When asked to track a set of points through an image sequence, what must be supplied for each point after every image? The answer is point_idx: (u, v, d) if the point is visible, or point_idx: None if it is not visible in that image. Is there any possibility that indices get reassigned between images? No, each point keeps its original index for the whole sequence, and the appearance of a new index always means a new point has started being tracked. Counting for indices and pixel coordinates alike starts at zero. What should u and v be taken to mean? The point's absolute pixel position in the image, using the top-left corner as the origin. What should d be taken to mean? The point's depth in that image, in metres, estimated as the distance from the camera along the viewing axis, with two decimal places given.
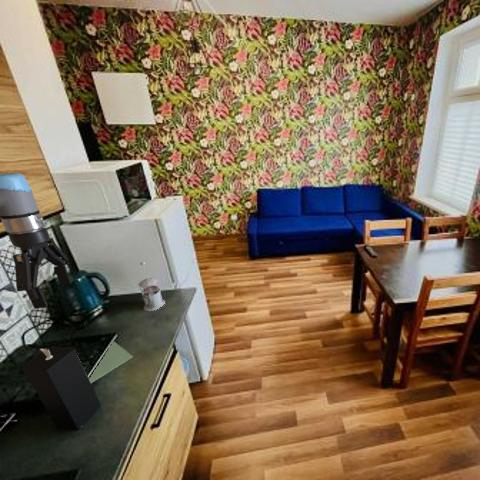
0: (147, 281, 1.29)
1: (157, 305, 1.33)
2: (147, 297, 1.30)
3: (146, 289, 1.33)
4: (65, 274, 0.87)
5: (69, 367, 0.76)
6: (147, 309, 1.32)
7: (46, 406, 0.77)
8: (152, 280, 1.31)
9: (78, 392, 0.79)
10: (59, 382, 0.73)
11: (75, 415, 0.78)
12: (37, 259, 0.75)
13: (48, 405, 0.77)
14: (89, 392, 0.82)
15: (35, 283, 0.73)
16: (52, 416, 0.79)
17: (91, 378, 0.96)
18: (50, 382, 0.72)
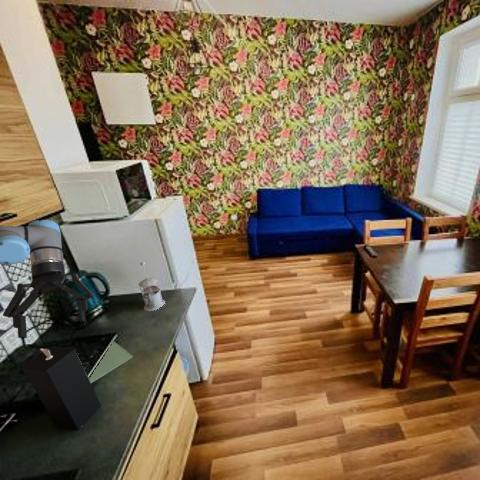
0: (147, 281, 1.29)
1: (157, 305, 1.33)
2: (147, 297, 1.30)
3: (146, 289, 1.33)
4: (25, 325, 0.79)
5: (69, 367, 0.76)
6: (147, 309, 1.32)
7: (46, 406, 0.77)
8: (152, 280, 1.31)
9: (78, 392, 0.79)
10: (59, 382, 0.73)
11: (75, 415, 0.78)
12: None
13: (48, 405, 0.77)
14: (89, 392, 0.82)
15: None
16: (52, 416, 0.79)
17: (91, 378, 0.96)
18: (50, 382, 0.72)
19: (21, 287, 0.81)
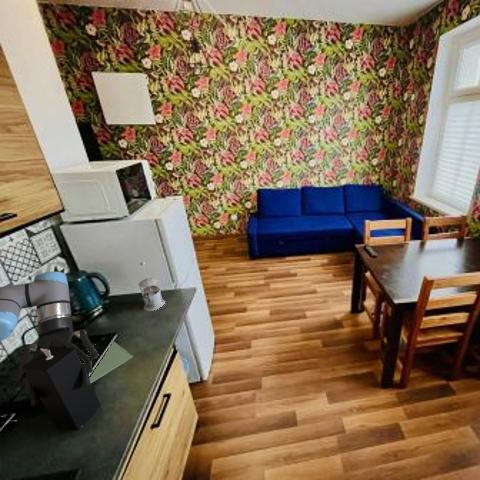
0: (147, 281, 1.29)
1: (157, 305, 1.33)
2: (147, 297, 1.30)
3: (146, 289, 1.33)
4: None
5: (69, 367, 0.76)
6: (147, 309, 1.32)
7: (46, 406, 0.77)
8: (152, 280, 1.31)
9: (78, 392, 0.79)
10: (59, 382, 0.73)
11: (75, 415, 0.78)
12: (72, 343, 0.83)
13: (48, 405, 0.77)
14: (89, 392, 0.82)
15: None
16: (52, 416, 0.79)
17: (91, 378, 0.96)
18: (50, 382, 0.72)
19: (28, 349, 0.77)
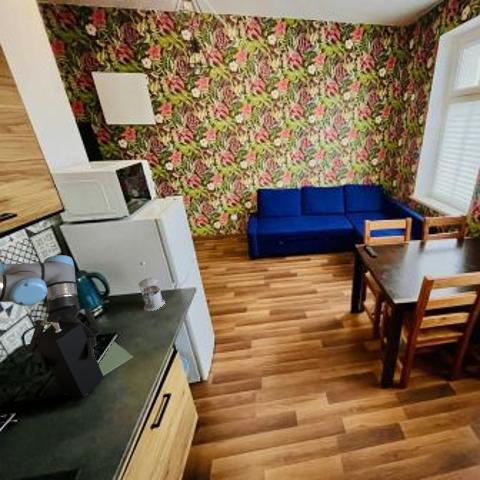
0: (147, 281, 1.29)
1: (157, 305, 1.33)
2: (147, 297, 1.30)
3: (146, 289, 1.33)
4: None
5: (76, 340, 0.84)
6: (147, 309, 1.32)
7: (55, 375, 0.85)
8: (152, 280, 1.30)
9: (84, 363, 0.88)
10: (67, 352, 0.82)
11: (81, 383, 0.87)
12: None
13: (57, 373, 0.85)
14: (93, 364, 0.91)
15: None
16: (60, 384, 0.87)
17: None
18: (59, 352, 0.81)
19: (39, 323, 0.85)
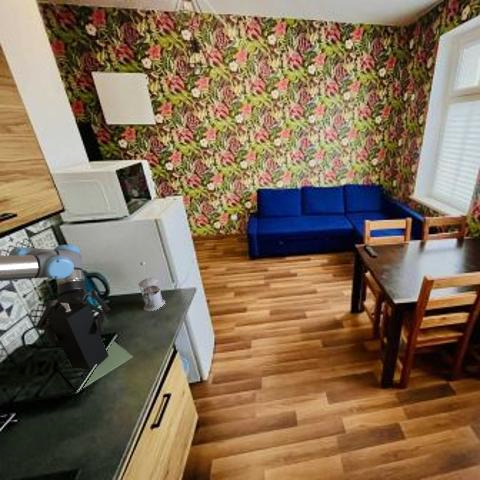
0: (147, 281, 1.29)
1: (157, 305, 1.33)
2: (147, 297, 1.30)
3: (146, 289, 1.33)
4: (54, 335, 0.94)
5: (84, 319, 0.95)
6: (147, 309, 1.32)
7: (65, 351, 0.96)
8: (152, 280, 1.30)
9: (91, 341, 0.98)
10: (76, 330, 0.92)
11: (88, 359, 0.97)
12: None
13: (67, 350, 0.95)
14: (99, 342, 1.01)
15: None
16: (70, 360, 0.97)
17: (91, 378, 0.96)
18: (69, 329, 0.91)
19: (50, 303, 0.95)
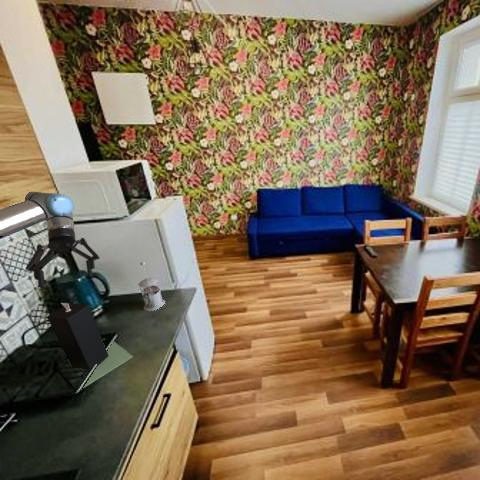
0: (147, 281, 1.29)
1: (157, 305, 1.33)
2: (147, 297, 1.30)
3: (146, 289, 1.33)
4: (43, 278, 0.96)
5: (84, 319, 0.95)
6: (147, 309, 1.32)
7: (65, 351, 0.96)
8: (152, 280, 1.31)
9: (91, 341, 0.98)
10: (76, 330, 0.92)
11: (88, 359, 0.97)
12: None
13: (67, 349, 0.95)
14: (99, 342, 1.01)
15: None
16: (70, 360, 0.97)
17: (91, 378, 0.96)
18: (69, 329, 0.91)
19: (40, 247, 0.98)
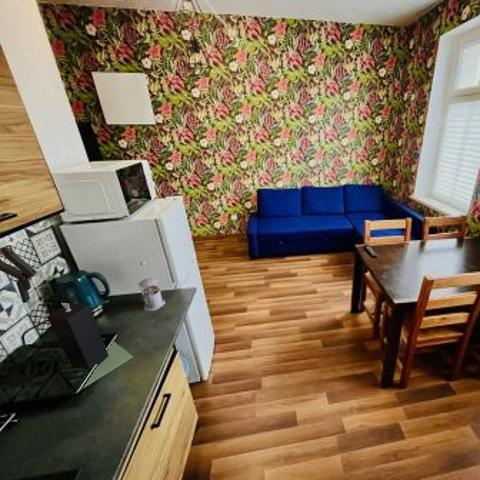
0: (147, 281, 1.29)
1: (157, 305, 1.33)
2: (147, 297, 1.30)
3: (146, 289, 1.33)
4: None
5: (84, 319, 0.95)
6: (147, 309, 1.32)
7: (65, 351, 0.96)
8: (152, 280, 1.30)
9: (91, 341, 0.98)
10: (76, 330, 0.92)
11: (88, 359, 0.97)
12: None
13: (67, 349, 0.95)
14: (99, 342, 1.01)
15: None
16: (70, 360, 0.97)
17: (91, 378, 0.96)
18: (69, 329, 0.91)
19: None
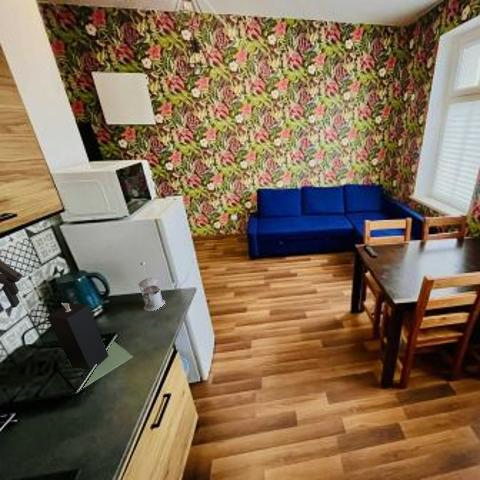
0: (147, 281, 1.29)
1: (157, 305, 1.33)
2: (147, 297, 1.30)
3: (146, 289, 1.33)
4: None
5: (84, 319, 0.95)
6: (147, 309, 1.32)
7: (65, 351, 0.96)
8: (152, 280, 1.30)
9: (91, 341, 0.98)
10: (76, 330, 0.92)
11: (88, 359, 0.97)
12: None
13: (67, 349, 0.95)
14: (99, 342, 1.01)
15: None
16: (70, 360, 0.97)
17: (91, 378, 0.96)
18: (69, 329, 0.91)
19: None
